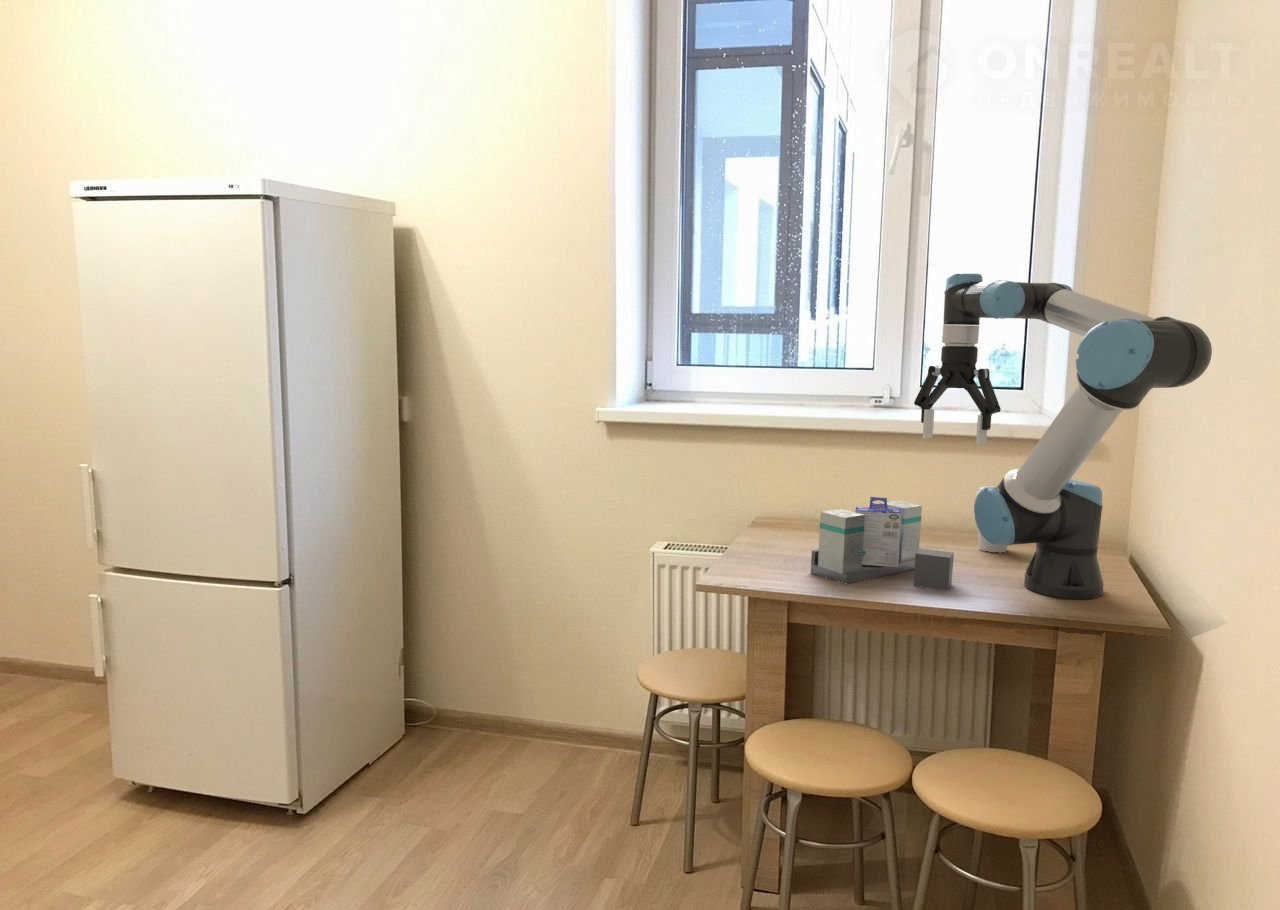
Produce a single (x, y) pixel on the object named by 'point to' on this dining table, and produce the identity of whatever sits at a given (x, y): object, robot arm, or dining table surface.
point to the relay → (933, 569)
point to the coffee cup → (984, 543)
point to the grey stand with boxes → (861, 544)
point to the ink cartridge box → (881, 534)
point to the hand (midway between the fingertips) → (953, 441)
